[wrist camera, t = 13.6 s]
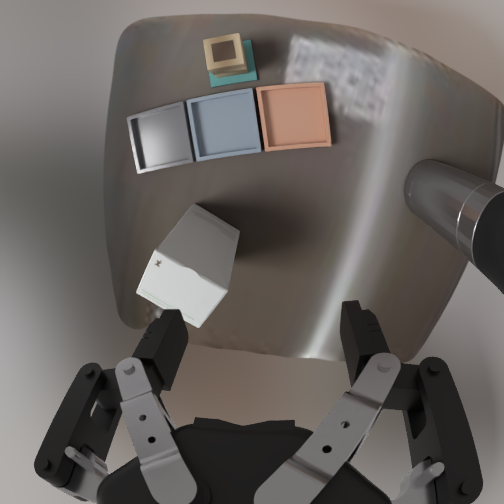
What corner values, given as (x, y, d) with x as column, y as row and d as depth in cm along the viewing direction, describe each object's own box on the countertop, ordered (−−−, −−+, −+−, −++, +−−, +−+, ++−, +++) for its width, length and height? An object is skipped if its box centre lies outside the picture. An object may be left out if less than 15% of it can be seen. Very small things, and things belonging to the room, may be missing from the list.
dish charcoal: (186, 101, 32) (182, 101, 31) (196, 160, 36) (193, 162, 34) (131, 117, 33) (126, 117, 32) (142, 171, 37) (137, 173, 35)
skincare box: (175, 234, 41) (131, 292, 27) (195, 199, 38) (152, 246, 24) (221, 263, 43) (197, 331, 29) (244, 230, 40) (228, 292, 26)
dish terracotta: (321, 83, 30) (323, 82, 28) (329, 145, 34) (331, 146, 32) (256, 89, 31) (256, 87, 30) (265, 150, 35) (265, 151, 33)
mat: (250, 40, 28) (250, 39, 27) (257, 80, 30) (257, 79, 30) (206, 48, 28) (205, 48, 28) (211, 87, 31) (211, 87, 31)
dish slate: (252, 89, 31) (252, 88, 30) (261, 150, 35) (261, 151, 33) (189, 101, 32) (186, 100, 31) (199, 159, 36) (196, 161, 34)
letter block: (244, 46, 28) (238, 32, 22) (248, 73, 30) (243, 63, 24) (213, 51, 28) (202, 39, 23) (218, 78, 30) (207, 70, 25)
